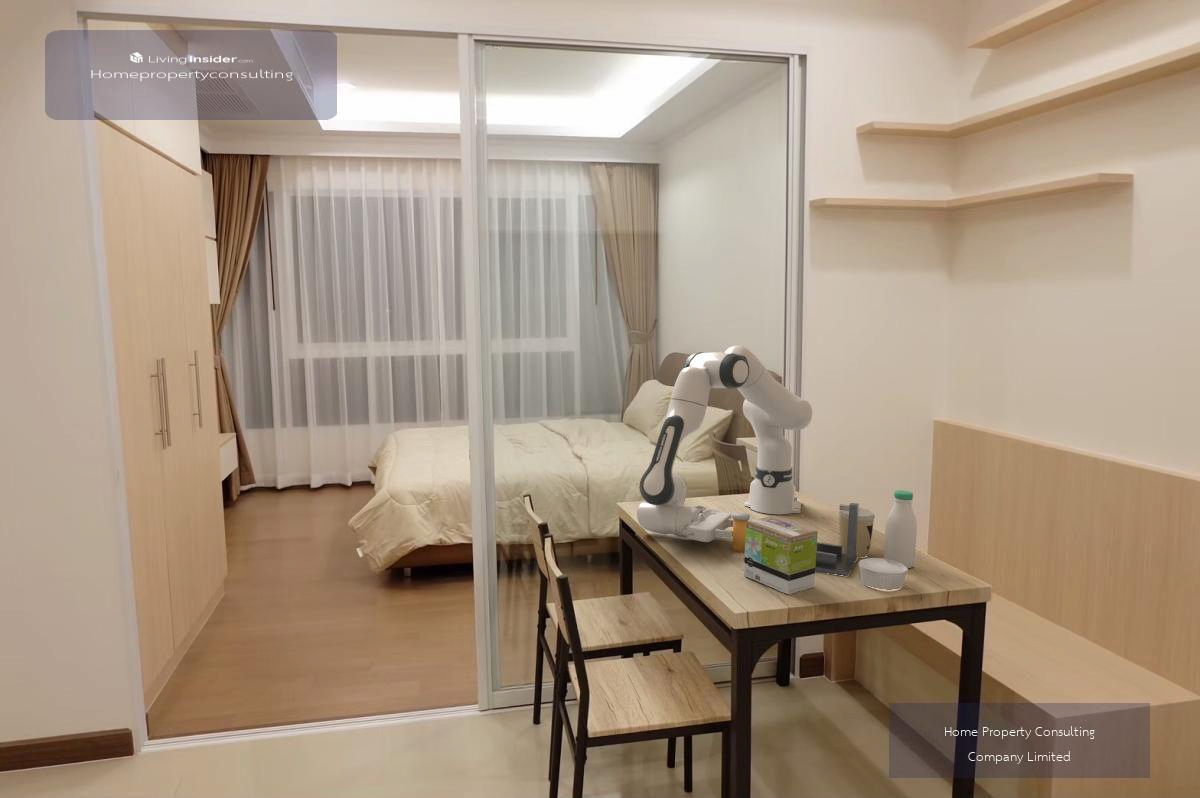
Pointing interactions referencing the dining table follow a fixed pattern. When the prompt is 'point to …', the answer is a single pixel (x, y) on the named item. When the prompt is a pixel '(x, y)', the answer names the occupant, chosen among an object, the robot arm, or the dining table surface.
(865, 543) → the coffee cup
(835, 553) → the keeper stand
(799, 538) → the tea box
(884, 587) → the ramekin
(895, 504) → the milk bottle
